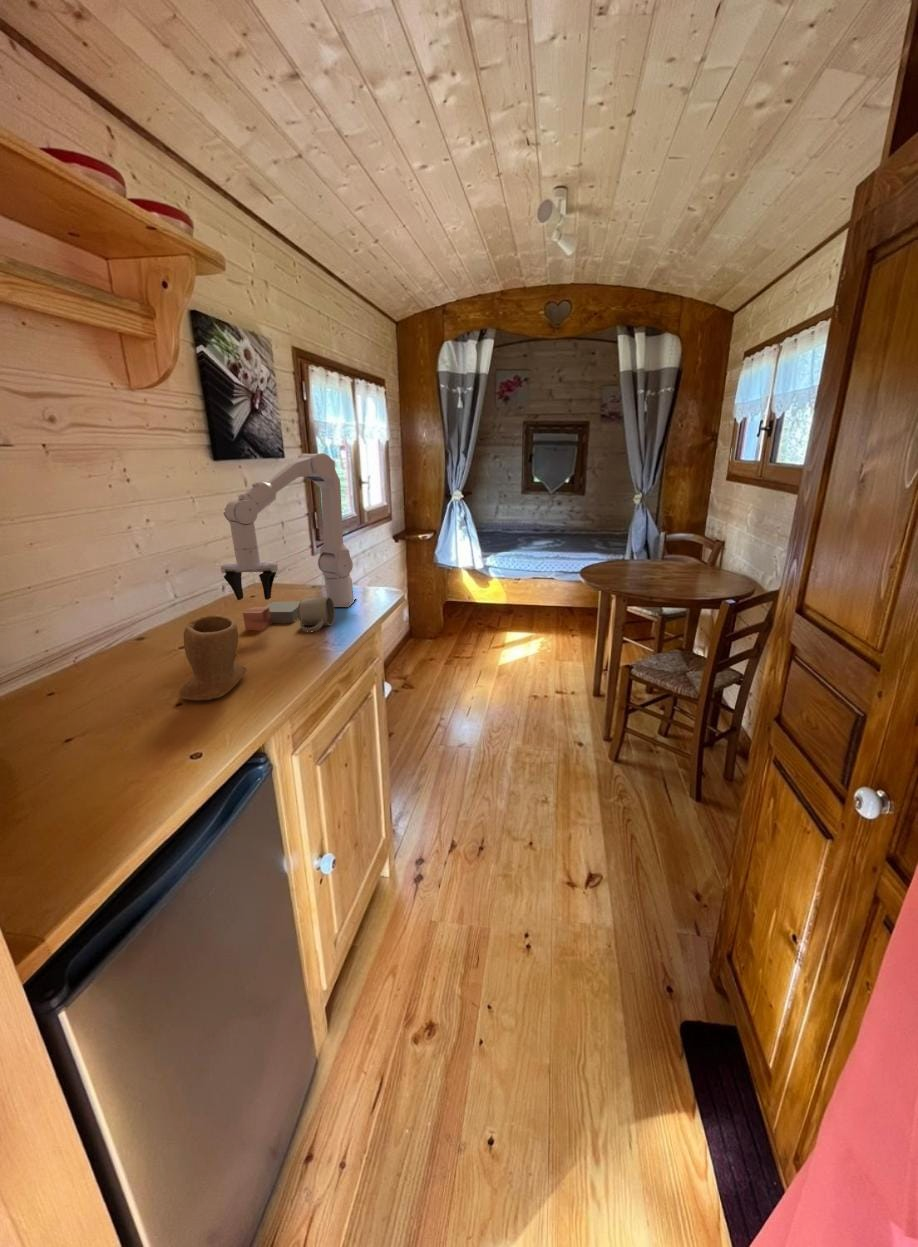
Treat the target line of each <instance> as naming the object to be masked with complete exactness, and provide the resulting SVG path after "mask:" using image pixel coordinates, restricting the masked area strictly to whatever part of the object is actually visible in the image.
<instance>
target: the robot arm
mask: <svg viewBox="0 0 918 1247" xmlns="http://www.w3.org/2000/svg"><path fill="white" fill-rule="evenodd" d="M299 478H305V479H307V480H310V481H312V482H313V483H315V485H316V486H318V487H319V488H320V494H321V495H320V497H321V512H322V514H321V515H322V529H323V544H322V546H321V547H320V548H319V556H318V559H317V567H318V569H319V570H320V571H321V572H322V576H323V578H324V587H325V595H326V596H325V597H330V598H331V599H332V600H333V603H334V607H348V608H350V607H351V606H352V605H353V604H354V603H355V601H354V599H353V598H355V597H354V589H353V588H354V586H353V579H352V577H351V572H352V571H353V568H354V567H353V560H352V558H351V554H350V553H351V552H350V549H349V548H348V547H347V546H346V545H345V543H344V536H343V535H344V534H343V533H344V532H343V515H342V513H343V511H342V510H343V508H342V493H341V492H342V489H341V481H340V480H341V479H340V477H339V474H338V472H337V471H336V462H335V460H334V459H332V458H331V457H330V456H329V455H328V454H326V453H325V452H324V453H323V452H319V453H301V454H299V455H298V456H297V457H295V458H292V460H291V461H290V462H288V464H287V465H286V466H285V467H283V468H282V469H281V470H280V471H278V472H277V473H276V474H275V475H274V476H273V477H272V478H270V479H269V480H268V481H267V482H264V481H259V482H258V481H257V482H256V481H255V482H253V483H252V484H251V486H252V487H251V488H250V489H248V490H247V491H246V492H244V493H240V494H239V495H238V499H234V500H230V501H228V503H227V504H226V505H225V506H226V507H225V509H224V511H223V516H224V518H225V519H226V520H227V521H228V523H229V526H230V530H231V531H230V532H231V537H232V543H233V544H232V545H233V549H234V556H235V563H228V564H222V565H220V572H221V574H225V575H223V578H224V580H225V581H226V582H227V583H228V585H229V586H230V588H231V589H232V591H233V593H234V595H235V597H236V600H237V601H240V600H242V599H244V591H243V585H242V574H243V573H260V574H258V577H259V579H260V583H261V585H262V589H263V598H264V600H270V599H271V598H272V588H273V584H274V581H275V578H276V575H277V572H278V571H279V569H278V563H271V562H270V563H267V562H261V560H260V558H261V557H260V553H259V546H258V539H257V532H256V528H255V522H256V520H257V518H258V514H259V513H261V512H262V511H263V510H265V509H266V508H267V507H268V506H269V505H271V504H272V503H273V502H275V501H276V498H277V493H279V491H281V490H282V489H284V488H285V487H287V486H288V485H289V484H291V483H293V482H294V481H296V479H299ZM353 602H354V603H353ZM352 603H353V604H352ZM351 604H352V605H351ZM350 605H351V606H350ZM349 606H350V607H349Z"/></svg>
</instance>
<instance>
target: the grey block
mask: <svg viewBox="0 0 918 1247" xmlns="http://www.w3.org/2000/svg"><path fill="white" fill-rule="evenodd" d="M300 602H301V601H271V602H269V603H268V604H266V605H265V606H264V607H269V610H270V617H271V622H293V621H294V620H296V619H297V618H298V605H299V603H300ZM298 619H299V618H298ZM298 619H297V620H298ZM297 620H296V621H297ZM294 622H295V621H294ZM294 622H293V623H294Z"/></svg>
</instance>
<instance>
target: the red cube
mask: <svg viewBox="0 0 918 1247" xmlns="http://www.w3.org/2000/svg"><path fill="white" fill-rule="evenodd" d="M242 617H243V622H244V626H245V631H246V630H257V631H265V630H267V629H268V628H269V627H270V626H272V625H273V623H271V617H270V610H269V607H265V606H264V607H263V606H260V607H258V606H257V607H256V606H255V607H250V608H248V609H247V610H245V611H243V612H242ZM271 624H272V625H271ZM268 626H269V627H268ZM267 627H268V628H267Z"/></svg>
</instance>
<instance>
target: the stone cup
mask: <svg viewBox="0 0 918 1247" xmlns="http://www.w3.org/2000/svg"><path fill="white" fill-rule="evenodd" d="M238 646H239V631H238V626H237V623H236V621H235V620H234V619H233V618H231V617H229V616H225V615H220V614H209V615H202V616H199V617H196V618H194V619H192V620H190V621H189V622H188V624H187V625H186V626H185V627H184V631H183V649H184V652H185V656H186V659H187V661H188V663H189V664H190V666H191V669H192V672H193V673H194V674H193V676H192V677H191V678H189V680H188V681H186V682H184V684H183V685H182V686H181V688H179V690H178V691H177V696H178V698H180V699H181V700H182V699H183V700H188V701H210V700H215V699H219V698H222V697H223V696H225V695H226V694H227V693H229V692H230V691H231V690H232V689H233V688H234V687H236V685H237V684H238V682H239V681H240V680H241V678H242V677H243V676H244V675H245V674H246V673H247V670H248V669H247V667H245V666H243V665H240V664H238V663H237V662H235V660H236V659H235V658H236V654H237V648H238Z"/></svg>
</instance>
